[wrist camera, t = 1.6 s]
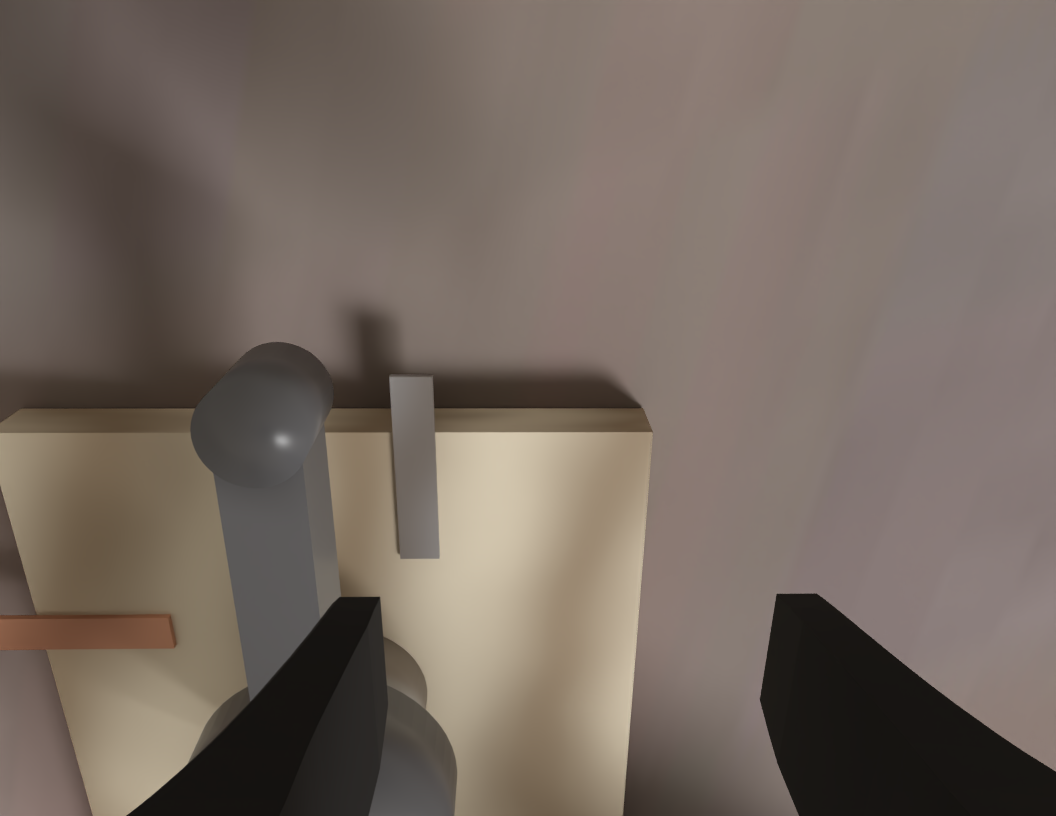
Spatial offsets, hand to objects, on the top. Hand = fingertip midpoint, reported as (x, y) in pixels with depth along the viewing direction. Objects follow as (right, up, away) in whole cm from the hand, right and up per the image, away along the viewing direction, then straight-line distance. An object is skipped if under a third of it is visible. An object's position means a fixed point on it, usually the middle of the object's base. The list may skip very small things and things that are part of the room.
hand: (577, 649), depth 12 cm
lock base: (-7, -3, +11) cm, 13 cm away
